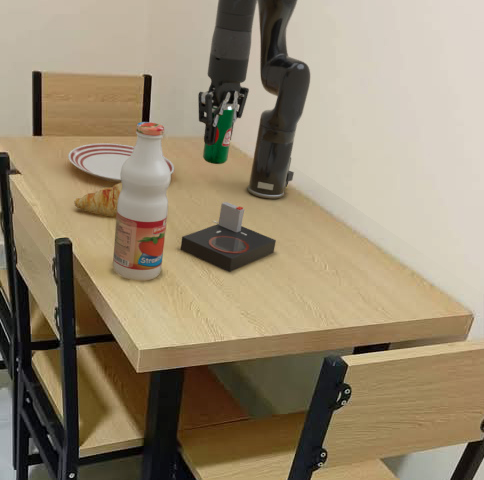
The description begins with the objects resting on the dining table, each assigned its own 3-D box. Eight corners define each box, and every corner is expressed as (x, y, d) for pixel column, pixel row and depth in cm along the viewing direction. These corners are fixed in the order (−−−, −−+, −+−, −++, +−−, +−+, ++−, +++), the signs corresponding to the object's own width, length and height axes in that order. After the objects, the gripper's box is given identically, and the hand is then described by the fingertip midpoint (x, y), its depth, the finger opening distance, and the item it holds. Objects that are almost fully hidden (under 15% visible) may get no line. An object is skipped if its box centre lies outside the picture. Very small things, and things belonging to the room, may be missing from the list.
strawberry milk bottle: (124, 256, 148) (137, 114, 134) (168, 268, 146) (185, 125, 131) (103, 273, 141) (114, 125, 126) (149, 286, 138) (165, 136, 124)
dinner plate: (192, 175, 197) (194, 163, 195) (133, 199, 177) (134, 185, 175) (110, 148, 208) (111, 137, 206) (45, 168, 188) (45, 155, 186)
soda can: (225, 166, 150) (234, 106, 144) (200, 162, 150) (208, 101, 144) (228, 159, 154) (237, 100, 148) (204, 155, 155) (212, 96, 148)
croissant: (76, 230, 165) (80, 206, 158) (69, 195, 170) (72, 171, 163) (166, 227, 172) (174, 204, 165) (157, 193, 176) (164, 170, 170)
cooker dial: (218, 225, 161) (221, 202, 158) (222, 223, 162) (226, 200, 159) (236, 232, 158) (240, 209, 155) (240, 231, 159) (244, 207, 157)
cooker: (223, 229, 167) (225, 216, 165) (276, 251, 160) (279, 238, 158) (174, 247, 155) (176, 233, 154) (229, 272, 148) (231, 257, 146)
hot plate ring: (224, 233, 157) (225, 232, 157) (256, 247, 153) (257, 246, 153) (200, 242, 151) (200, 241, 151) (232, 257, 147) (233, 256, 147)
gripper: (235, 47, 148) (223, 132, 157) (191, 51, 138) (180, 142, 147) (266, 55, 144) (252, 141, 153) (223, 60, 134) (210, 152, 143)
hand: (217, 141), depth 150 cm, fingers closed on soda can, 5 cm apart
